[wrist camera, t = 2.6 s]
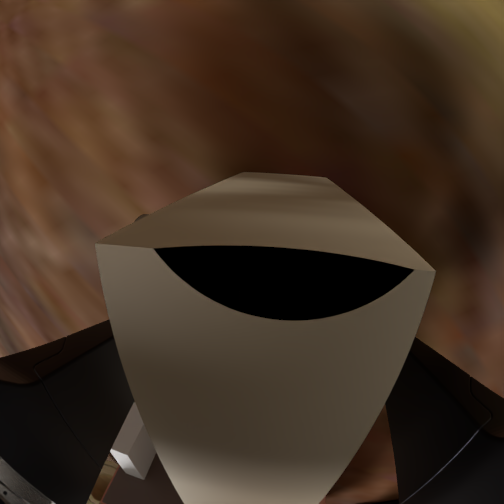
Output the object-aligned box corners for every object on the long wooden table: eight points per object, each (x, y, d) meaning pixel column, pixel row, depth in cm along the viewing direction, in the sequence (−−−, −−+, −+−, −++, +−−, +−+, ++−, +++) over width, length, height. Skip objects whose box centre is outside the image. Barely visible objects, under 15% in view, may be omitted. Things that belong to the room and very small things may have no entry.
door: (326, 177, 8) (435, 270, 2) (287, 428, 12) (274, 550, 6) (212, 170, 9) (24, 236, 2) (220, 420, 13) (185, 536, 6)
